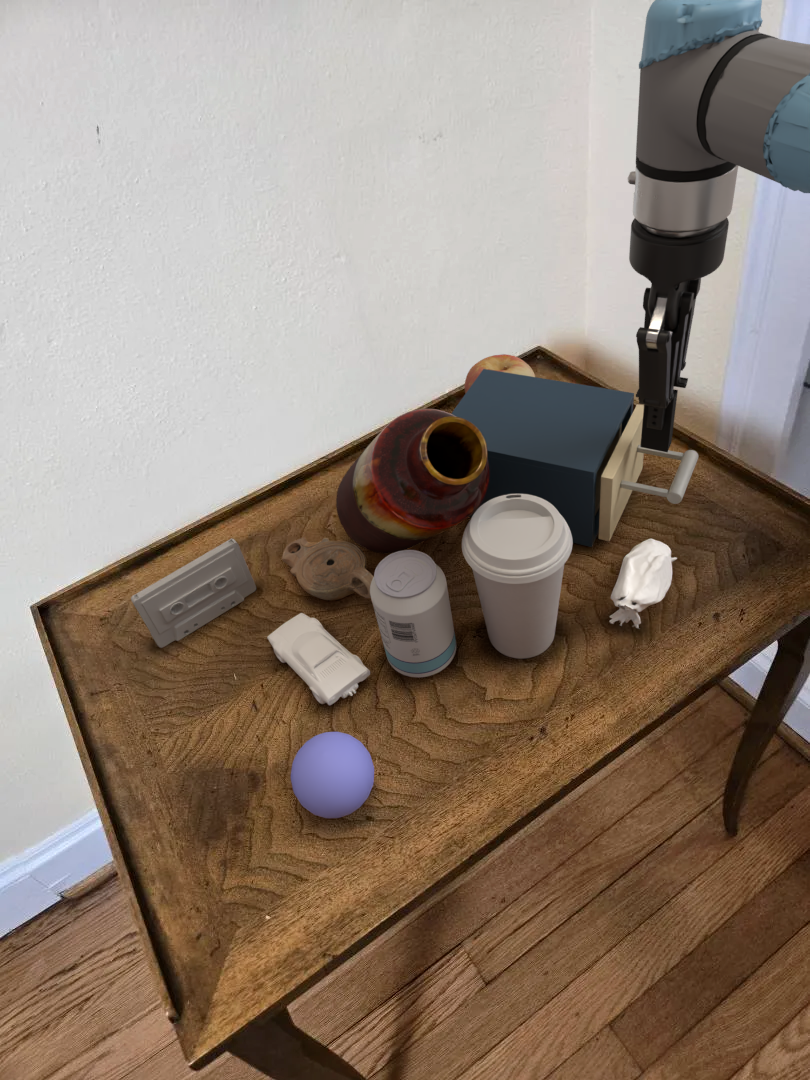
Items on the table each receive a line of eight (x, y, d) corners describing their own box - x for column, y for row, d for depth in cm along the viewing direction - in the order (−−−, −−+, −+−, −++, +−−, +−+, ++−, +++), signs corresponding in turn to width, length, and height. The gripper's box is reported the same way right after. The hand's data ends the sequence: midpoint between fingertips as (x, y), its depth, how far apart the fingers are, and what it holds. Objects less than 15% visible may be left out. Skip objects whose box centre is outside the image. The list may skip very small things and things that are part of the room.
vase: (310, 515, 88) (361, 456, 63) (370, 441, 91) (441, 358, 66) (388, 577, 89) (468, 544, 64) (444, 502, 92) (542, 443, 67)
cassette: (161, 652, 84) (134, 605, 78) (154, 641, 85) (126, 594, 80) (260, 592, 88) (240, 543, 82) (252, 582, 89) (231, 534, 84)
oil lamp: (272, 578, 89) (260, 547, 85) (320, 539, 92) (311, 507, 89) (353, 634, 82) (344, 603, 78) (403, 589, 85) (396, 557, 82)
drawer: (698, 479, 89) (708, 415, 83) (669, 556, 82) (678, 492, 76) (508, 441, 98) (504, 381, 92) (466, 507, 91) (459, 447, 85)
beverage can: (471, 649, 78) (460, 566, 70) (424, 696, 75) (406, 615, 67) (420, 615, 82) (404, 533, 74) (373, 659, 79) (350, 578, 71)
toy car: (308, 617, 84) (300, 596, 82) (378, 684, 77) (372, 663, 75) (265, 647, 82) (256, 627, 80) (333, 719, 75) (325, 699, 73)
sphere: (397, 791, 69) (384, 750, 64) (335, 850, 66) (317, 811, 61) (345, 743, 73) (329, 700, 68) (285, 796, 70) (264, 755, 65)
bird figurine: (664, 640, 77) (681, 551, 82) (653, 607, 72) (671, 515, 77) (613, 634, 80) (632, 548, 84) (599, 602, 75) (619, 513, 79)
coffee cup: (582, 607, 80) (586, 498, 69) (553, 684, 74) (553, 578, 64) (492, 584, 84) (483, 478, 73) (458, 656, 78) (442, 552, 67)
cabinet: (628, 468, 93) (634, 392, 86) (591, 547, 85) (594, 472, 78) (489, 440, 101) (483, 368, 93) (443, 511, 93) (432, 439, 85)
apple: (456, 421, 104) (449, 369, 99) (499, 388, 108) (495, 336, 102) (508, 445, 99) (505, 392, 94) (552, 409, 103) (551, 355, 98)
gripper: (655, 180, 70) (637, 401, 86) (609, 250, 62) (599, 478, 79) (746, 185, 67) (709, 413, 83) (709, 260, 59) (677, 494, 76)
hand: (655, 445), depth 81 cm, fingers closed
